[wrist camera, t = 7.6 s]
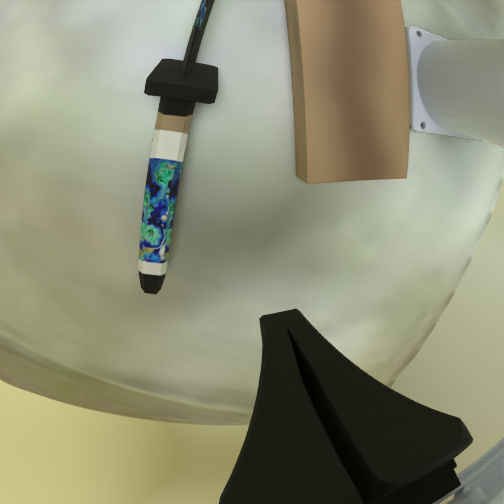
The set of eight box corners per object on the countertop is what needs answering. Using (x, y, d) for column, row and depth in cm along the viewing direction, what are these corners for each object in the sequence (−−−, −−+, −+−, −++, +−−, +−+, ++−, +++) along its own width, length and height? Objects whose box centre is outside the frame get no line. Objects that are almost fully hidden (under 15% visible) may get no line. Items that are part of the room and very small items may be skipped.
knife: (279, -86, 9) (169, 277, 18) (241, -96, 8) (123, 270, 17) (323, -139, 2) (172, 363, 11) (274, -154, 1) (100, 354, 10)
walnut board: (366, -70, 8) (379, -80, 6) (389, 170, 18) (406, 178, 16) (271, -89, 7) (279, -103, 6) (296, 175, 17) (307, 184, 16)
